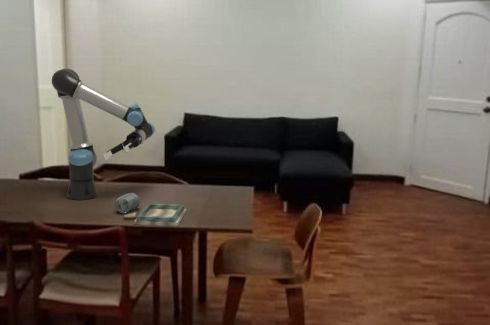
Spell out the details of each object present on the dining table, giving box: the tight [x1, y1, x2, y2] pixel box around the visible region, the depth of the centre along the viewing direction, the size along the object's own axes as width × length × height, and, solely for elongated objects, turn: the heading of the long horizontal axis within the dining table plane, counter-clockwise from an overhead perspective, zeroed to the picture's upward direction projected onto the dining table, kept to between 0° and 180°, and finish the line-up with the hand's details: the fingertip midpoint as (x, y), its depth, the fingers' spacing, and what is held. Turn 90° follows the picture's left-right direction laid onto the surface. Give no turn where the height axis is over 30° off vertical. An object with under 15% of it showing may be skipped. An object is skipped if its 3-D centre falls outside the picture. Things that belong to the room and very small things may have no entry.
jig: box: [133, 203, 187, 227], centre depth 248 cm, size 19×22×4 cm
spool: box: [114, 192, 141, 214], centre depth 257 cm, size 14×10×10 cm
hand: (114, 154), depth 267 cm, fingers open, 13 cm apart
